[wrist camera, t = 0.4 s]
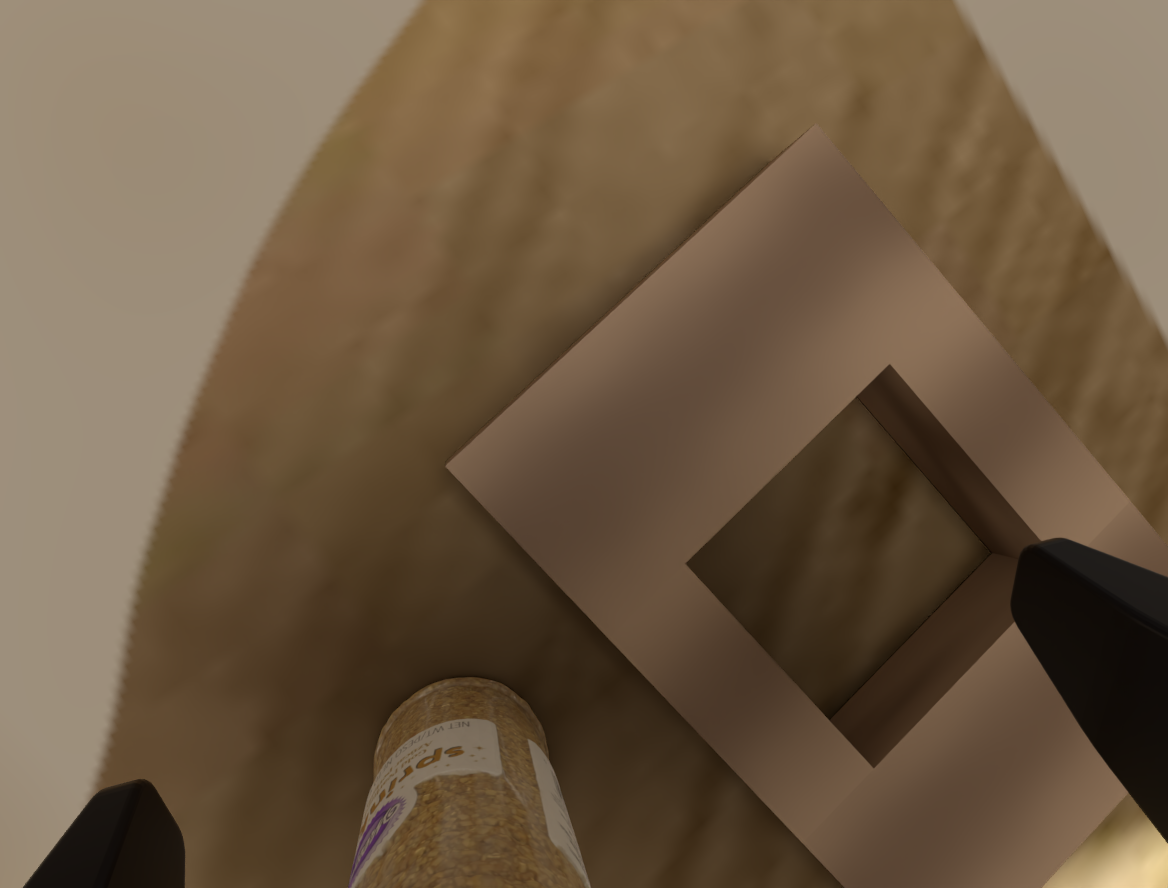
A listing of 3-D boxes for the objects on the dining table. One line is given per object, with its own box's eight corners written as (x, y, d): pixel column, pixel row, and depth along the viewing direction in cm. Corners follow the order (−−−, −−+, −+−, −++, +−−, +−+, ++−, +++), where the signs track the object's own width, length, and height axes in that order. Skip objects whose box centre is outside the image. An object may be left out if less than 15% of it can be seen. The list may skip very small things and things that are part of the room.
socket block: (1163, 627, 26) (1256, 652, 23) (885, 926, 25) (945, 993, 22) (770, 161, 24) (816, 123, 21) (445, 461, 23) (445, 466, 20)
